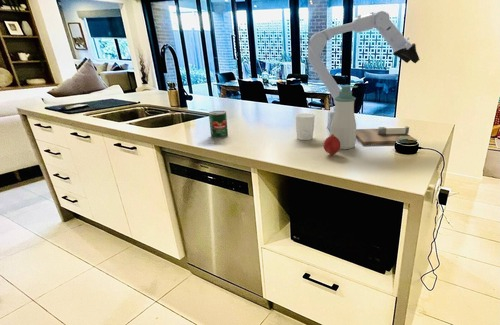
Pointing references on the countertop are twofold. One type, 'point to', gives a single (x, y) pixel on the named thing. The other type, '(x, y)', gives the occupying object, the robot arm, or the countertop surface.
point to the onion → (332, 145)
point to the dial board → (379, 137)
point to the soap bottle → (344, 118)
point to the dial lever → (393, 130)
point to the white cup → (305, 126)
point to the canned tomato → (218, 124)
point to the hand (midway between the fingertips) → (413, 61)
